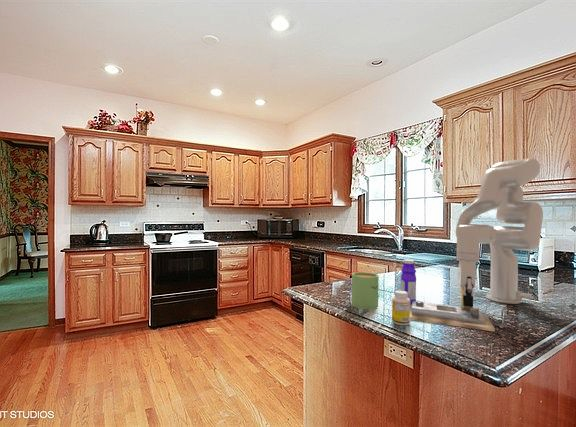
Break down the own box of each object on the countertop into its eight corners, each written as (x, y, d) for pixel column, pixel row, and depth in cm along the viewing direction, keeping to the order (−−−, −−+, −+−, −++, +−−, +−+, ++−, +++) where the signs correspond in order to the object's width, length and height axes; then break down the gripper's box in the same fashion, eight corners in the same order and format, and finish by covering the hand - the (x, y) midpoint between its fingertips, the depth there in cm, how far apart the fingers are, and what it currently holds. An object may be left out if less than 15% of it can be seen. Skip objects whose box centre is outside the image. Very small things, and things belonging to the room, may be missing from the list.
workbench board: (486, 317, 107) (486, 315, 107) (494, 331, 95) (494, 328, 95) (407, 307, 118) (407, 305, 118) (405, 318, 105) (405, 315, 105)
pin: (472, 308, 119) (472, 287, 119) (473, 311, 115) (474, 289, 115) (460, 306, 120) (460, 286, 120) (461, 309, 117) (461, 288, 117)
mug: (374, 311, 113) (375, 278, 113) (347, 306, 119) (348, 275, 119) (383, 303, 124) (384, 273, 124) (358, 298, 130) (359, 270, 130)
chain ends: (481, 316, 106) (481, 306, 106) (485, 324, 98) (486, 314, 98) (412, 307, 115) (412, 298, 115) (411, 314, 107) (411, 304, 107)
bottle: (417, 305, 121) (418, 261, 121) (402, 304, 122) (402, 260, 122) (413, 300, 128) (414, 258, 128) (399, 299, 130) (400, 258, 130)
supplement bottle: (395, 318, 105) (396, 289, 105) (412, 322, 101) (412, 291, 101) (389, 323, 101) (389, 291, 101) (406, 327, 97) (406, 295, 97)
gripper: (454, 253, 127) (454, 297, 127) (458, 259, 111) (458, 308, 111) (475, 255, 124) (475, 299, 124) (482, 260, 108) (482, 311, 108)
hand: (467, 303), depth 118 cm, fingers open, 5 cm apart
